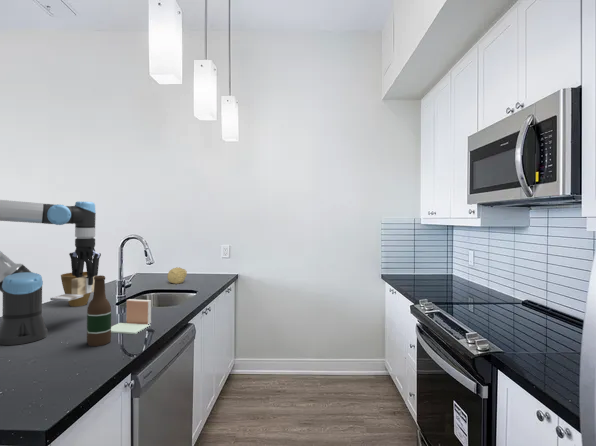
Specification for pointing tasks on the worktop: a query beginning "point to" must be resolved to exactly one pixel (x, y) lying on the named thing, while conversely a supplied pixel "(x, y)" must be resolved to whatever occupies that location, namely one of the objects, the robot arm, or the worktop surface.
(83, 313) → the worktop surface
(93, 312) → the beer bottle
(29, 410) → the worktop surface
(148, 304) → the tile
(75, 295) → the turner
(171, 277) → the beige lumpy ball
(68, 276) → the plant pot
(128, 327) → the mat
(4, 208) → the robot arm
